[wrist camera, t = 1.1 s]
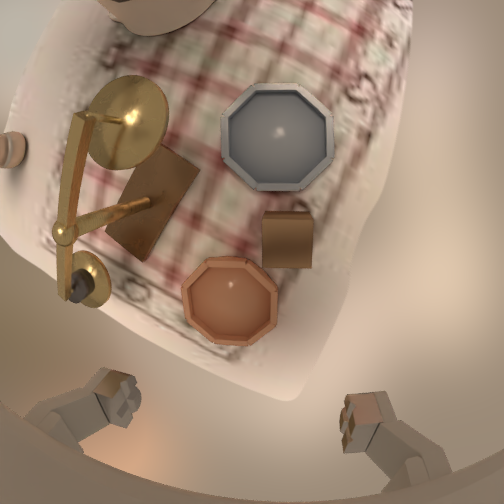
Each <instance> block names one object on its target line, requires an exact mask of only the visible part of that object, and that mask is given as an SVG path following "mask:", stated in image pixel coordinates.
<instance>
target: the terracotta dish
mask: <svg viewBox="0 0 504 504" xmlns="http://www.w3.org/2000/svg"><path fill="white" fill-rule="evenodd" d="M181 293H182V300H183V307H184V314H185V319H187V322H188V323H189V324H190V325H192V326H193V327H194V328H195V329H196V330H197V331H199V332H200V333H201V334H202V335H203V336H204V337H206V338H207V339H208V340H209V341H210V342H212V343H213V342H214V344H222V345H235V346H248V345H250V346H251V345H252V344H253V343H255V342H256V341H257V340H259V339H260V338H261V337H263V336H264V335H265V334H267V333H268V332H269V331H271V330H272V329H273V328H274V327H276V325H277V304H278V288H277V285H276V284H275V283H274V282H273V281H272V280H271V279H270V277H269V276H268V275H267V274H266V272H265V271H264V270H262V269H261V268H260V267H259V266H257V265H256V264H254V263H253V262H252V261H251V260H250V259H249V260H247V258H239V257H232V256H222V257H217V258H214V257H209V258H208V259H206V260H205V261H204V262H203V263H202V264H201V265H200V266H199V267H198V268H197V269H196V270H195V271H194V272H193V273H192V274H191V275H190V277H189V278H188V279H187V280H186V281H185V282H184V283H183V284H182V287H181Z"/></svg>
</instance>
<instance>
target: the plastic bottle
mask: <svg viewBox="0 0 504 504" xmlns="http://www.w3.org/2000/svg"><path fill="white" fill-rule="evenodd" d="M25 151H26V142H25V138H24V137H23V135H22V134H21V133H19V132H14V131H12V132H7V133H4V134H1V135H0V168H13V167H16V166H18V165H19V164H20V163H21V161H22V160H23V158H24V155H25Z"/></svg>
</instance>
